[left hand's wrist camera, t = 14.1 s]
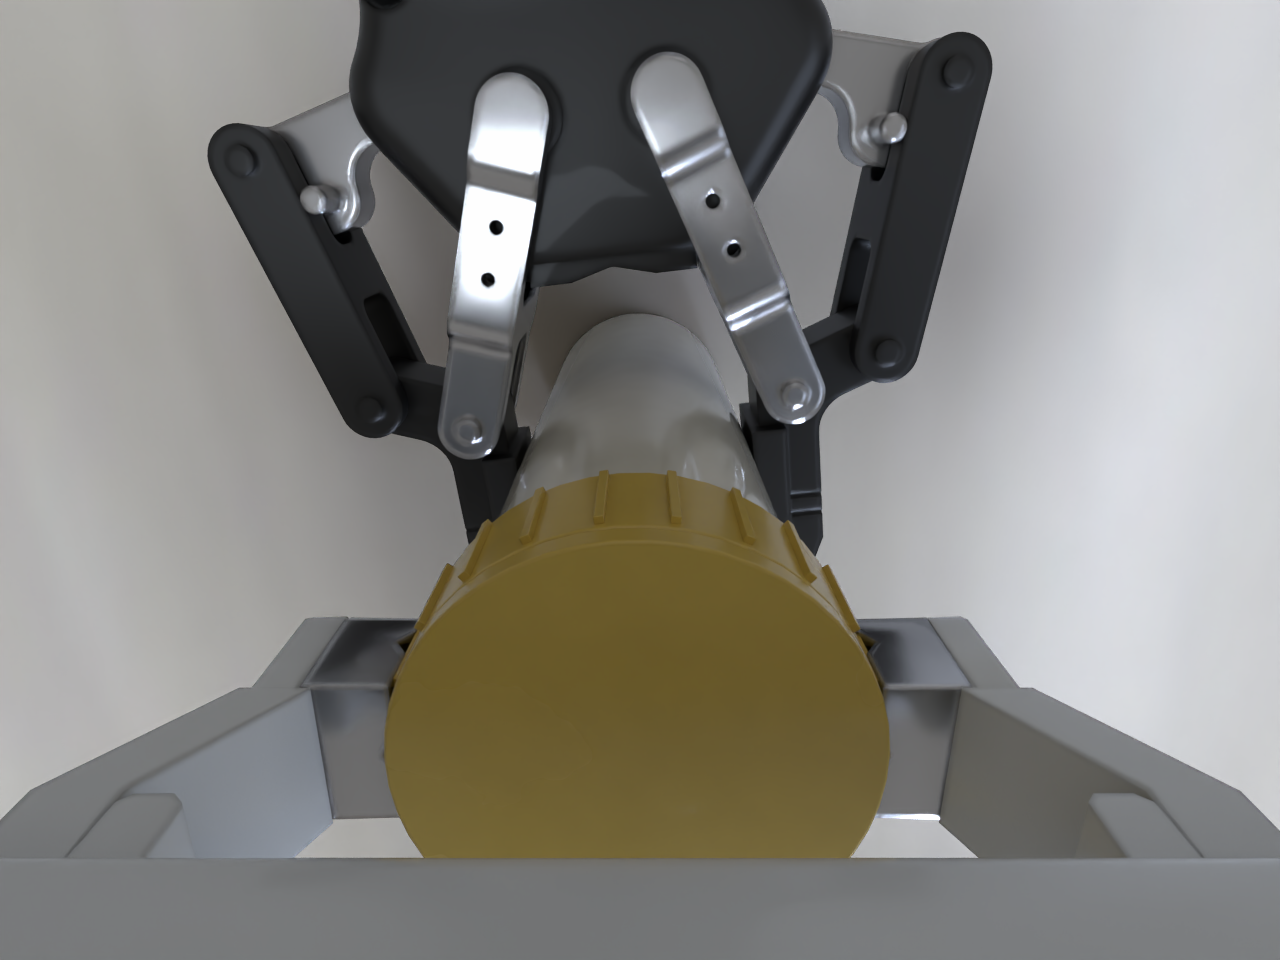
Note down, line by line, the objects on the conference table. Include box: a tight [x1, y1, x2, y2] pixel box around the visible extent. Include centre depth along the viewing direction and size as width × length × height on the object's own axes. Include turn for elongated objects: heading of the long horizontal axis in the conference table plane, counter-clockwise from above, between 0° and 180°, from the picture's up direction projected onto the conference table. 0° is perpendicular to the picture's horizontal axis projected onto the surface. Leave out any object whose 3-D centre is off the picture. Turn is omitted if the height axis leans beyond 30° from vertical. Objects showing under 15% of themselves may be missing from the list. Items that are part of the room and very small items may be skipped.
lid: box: [384, 470, 890, 858], centre depth 9 cm, size 6×6×2 cm
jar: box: [499, 314, 778, 519], centre depth 16 cm, size 5×5×16 cm
